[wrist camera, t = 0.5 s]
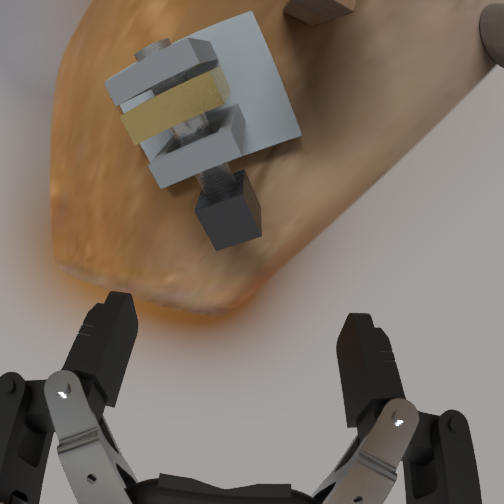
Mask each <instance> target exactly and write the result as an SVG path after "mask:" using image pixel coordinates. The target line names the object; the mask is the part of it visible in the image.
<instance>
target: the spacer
mask: <svg viewBox="0 0 504 504" xmlns="http://www.w3.org/2000/svg"><path fill="white" fill-rule="evenodd" d="M230 93H231V89H230V87H229V84H228V82H227V80H226V78H225V75H224V73H223V71H222V69H221V67H220V66H219V67H217V68H214V69H212V70H210V71H207V72H205V73H203V74H200V75H198V76H196V77H193V78H191V79H189V80H188V81H186V82H184V83H181V84H179V85H177V86H175V87H173V88H171V89H169V90H167V91H165V92H163V93H161V94H159V95H157V96H154V97H152V98H150V99H148V100H147V101H145V102H143V103H141V104H139V105H138V106H136V107H134V108H132V109H131V110H129V111H127V112H126V113H124V114H122V115H121V116H120V118H121V120H122V122H123V124H124V126H125V128H126V130H127V131H128V133H129V135H130V137H131V139H132V141H133V143H134V144H135V145H137V144H139V143H141V142H143V141H145V140H147V139H149V138H151V137H153V136H155V135H157V134H159V133H161V132H163V131H165V130H167V129H169V128H171V127H173V126H175V125H178V124H180V123H182V122H184V121H186V120H189V119H191V118H193V117H195V116H198V115H200V114H202V113H204V112H207V111H209V110H212V109H214V108H216V107H219V106H221V105H224V104H225V103H226V101H227V99H228V97H229V95H230Z"/></svg>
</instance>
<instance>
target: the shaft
mask: <svg viewBox="0 0 504 504" xmlns="http://www.w3.org/2000/svg"><path fill="white" fill-rule="evenodd" d="M170 45H172V44H171V42H170V40H169V38H166V39H163V40H160V41H157V42H155V43H153V44H151V45H149V46H147V47H145V48H143V49H141V50H140V51H138V52H137V53H136V54H135V55H134V56H135V58H136V60H137V62H140V61H141V60H143V59H145V58H147V57H149V56H151V55H152V54H154V53H156V52H158V51H160V50H162V49H164V48H166V47H168V46H170ZM188 80H189V79H188V77H187V75H186V73H185V71H183V72H181V73H179V74H177V75H174V76H172V77H170V78H168V79H166V80H164V81H162V82H160V83H158V84H156V85H155V86H153V87H151V90H152V92H153V94H154V96H157V95H159V94H161V93H163V92H165V91H167V90H169V89H171V88H173V87H175V86H177V85H179V84H181V83H184V82H186V81H188ZM171 130H172V132H173V134H174V136H175V138H176V140H177V142H178V144H179V146H180V148H181V147H184V146H186V145H188V144H191V143H193V142H195V141H197V140H200V139H202V138H205V137H207V136H209V135H212V134H214V132H213V130H212V128H211V126H210V124H209V122H208V120H207V117H206V115H205V113H202V114H200V115H198V116H195V117H193V118H191V119H189V120H186V121H184V122H182V123H180V124H178V125H175V126H173V127H171ZM195 177H196V179H197V181H198V183H199V185H200V187H201V189H202V191H201V194H200V197H199V200H198V203H197V206H196V209H195V213H196V215H197V217H198V219H199V221H200V222H201V224H202V226H203V228H204V230H205V231H206V233H207V235H208V237H209V239H210V240H211V242H212V244H213V246H214V247H215V249H216V251H218V250H221V249H224V248H227V247H230V246H233V245H236V244H239V243H242V242H245V241H248V240H251V239H254V238H258V237H261V236H262V229H261V206H260V204H259V202H258V200H257V197H256V195H255V193H254V190H253V188H252V186H251V183H250V181H249V179H248V177H247V174H246V172H245V170H241V171H239V172H236V173H232V171H231V169H230V167H229V165H228V162H225V163H223V164H220V165H217V166H215V167H212V168H210V169H207V170H205V171H202V172H200V173H197V174H195Z"/></svg>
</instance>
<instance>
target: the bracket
mask: <svg viewBox="0 0 504 504" xmlns="http://www.w3.org/2000/svg"><path fill="white" fill-rule="evenodd" d="M219 66H220V67H221V69H222V71H223V73H224V75H225V78H226V80H227V82H228V84H229V87H230V89H231V93H230V95H229V97H228V99H227V101H226V103H225V104H224V105H221V106H219V107H216V108H214V109H212V110H209V111H207V112H204V113H205V115H206V117H207V120H208V122H209V124H210V126H211V128H212V130H213V132H214V134H212V135H209V136H207V137H205V138H202V139H200V140H197V141H195V142H193V143H191V144H188V145H186V146H184V147H181V148H180V146H179V144H178V142H177V140H176V138H175V136H174V134H173V132H172V130H171V128H169V129H167V130H165V131H163V132H161V133H159V134H157V135H155V136H153V137H151V138H149V139H147V140H145V141H143V142H141V143H140V145H141V146H142V148H143V150H144V152H145V154H146V156H147V158H148V159H149V161H150V164H149V165H148V167H149V169H150V171H151V172H152V174H153V176H154V178H155V180H156V181H157V183H158V185H159V187H160V188H161V189H162V188H165V187H167V186H170V185H172V184H174V183H177V182H179V181H181V180H184V179H186V178H189V177H191V176H193V175H195V174H197V173H200V172H202V171H205V170H207V169H210V168H212V167H215V166H217V165H220V164H223V163H225V162H229V161H231V160H234V159H237V158H239V157H242V156H245V155H247V154H250V153H253V152H255V151H258V150H261V149H264V148H267V147H270V146H272V145H275V144H278V143H281V142H284V141H287V140H290V139H293V138H296V137H299V136H302V134H301V131H300V128H299V125H298V123H297V120H296V117H295V114H294V112H293V109H292V106H291V104H290V101H289V98H288V96H287V93H286V91H285V88H284V85H283V83H282V80H281V78H280V75H279V73H278V70H277V68H276V66H275V63H274V61H273V58H272V56H271V53H270V51H269V49H268V46H267V44H266V42H265V39H264V37H263V35H262V33H261V30H260V28H259V26H258V24H257V21H256V19H255V17H254V15H253V13H252V11H249V12H247V13H244V14H241V15H238V16H235V17H233V18H230V19H227V20H225V21H222V22H220V23H217V24H215V25H212V26H210V27H207V28H205V29H203V30H200V31H198V32H196V33H193V34H191V35H189V36H187V37H185V38H182V39H180V40H178V41H176V42H174V43H172V45H170V46H168V47H166V48H164V49H162V50H160V51H158V52H156V53H154V54H152V55H151V56H149V57H147V58H145V59H143V60H141V61H140V62H136V63H134V64H132V65H131V66H129V67H127V68H126V69H124V70H122V71H121V72H119V73H117V74H116V75H114V76H112V77H111V78H109V79H108V80H107V81H106V82H104V84H105V86H106V88H107V90H108V92H109V94H110V96H111V98H112V100H113V102H114V104H115V106H118V105H120V107H121V109H122V111H123V113H126V112H127V111H129V110H131V109H132V108H134V107H136V106H138V105H139V104H141V103H143V102H145V101H147V100H148V99H150V98H152V97H154V94H153V92H152V90H151V87H153V86H155V85H156V84H158V83H160V82H162V81H164V80H166V79H168V78H170V77H172V76H174V75H177V74H179V73H181V72H183V71H185V73H186V75H187V77H188V79H191V78H193V77H196V76H198V75H200V74H203V73H205V72H207V71H210V70H212V69H214V68H217V67H219Z"/></svg>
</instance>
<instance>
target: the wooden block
mask: <svg viewBox="0 0 504 504" xmlns="http://www.w3.org/2000/svg"><path fill="white" fill-rule="evenodd" d="M356 2H357V0H288V1H287V3H286V5H285V6H284V8H283V11H284V12H285V13H287V14H289V15H291V16H293V17H295V18H297V19H299V20H301V21H303V22H305V23H307V24H309V25H312V26H314V25H317V24H319V23H322V22H325V21H328V20H332V19H334V18H337V17H340V16H344V15H347V14H350V13H353V12H354V11H355V7H356Z"/></svg>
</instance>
